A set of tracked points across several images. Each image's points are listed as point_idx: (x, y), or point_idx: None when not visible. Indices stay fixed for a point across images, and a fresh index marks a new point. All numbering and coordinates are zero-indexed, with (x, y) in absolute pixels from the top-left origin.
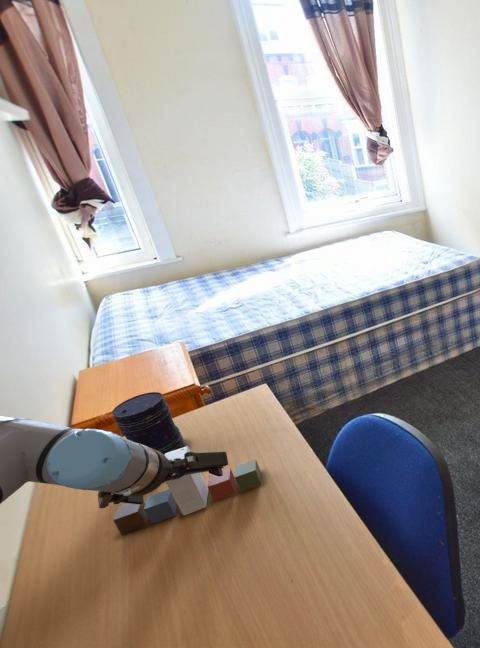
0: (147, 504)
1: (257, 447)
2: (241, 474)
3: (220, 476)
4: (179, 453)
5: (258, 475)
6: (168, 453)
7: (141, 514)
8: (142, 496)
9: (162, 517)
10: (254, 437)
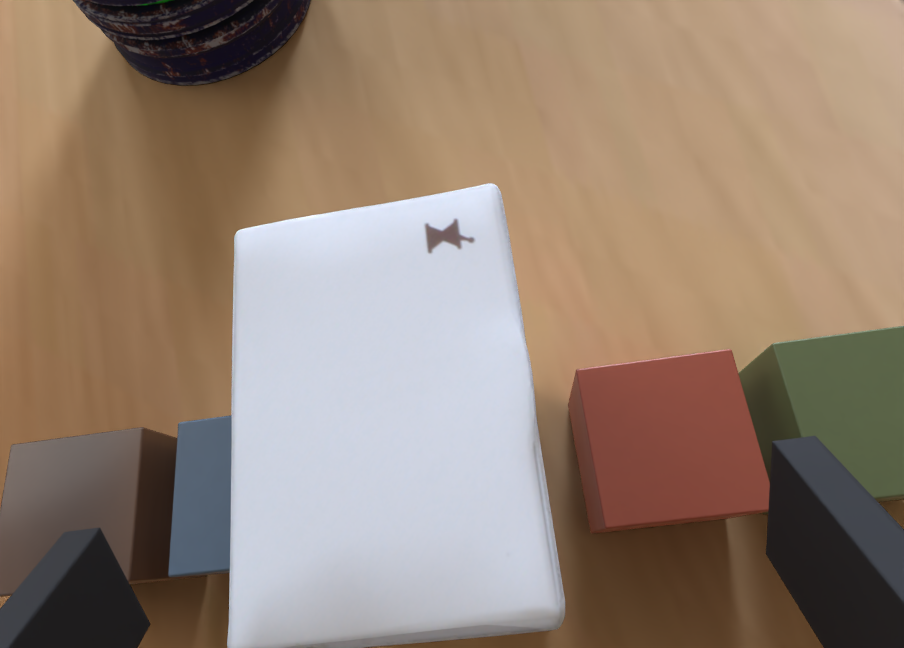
0: (185, 524)
1: (731, 99)
2: (877, 486)
3: (680, 430)
4: (427, 313)
5: None
6: (279, 251)
7: (164, 551)
8: (121, 592)
9: None
10: (680, 9)
